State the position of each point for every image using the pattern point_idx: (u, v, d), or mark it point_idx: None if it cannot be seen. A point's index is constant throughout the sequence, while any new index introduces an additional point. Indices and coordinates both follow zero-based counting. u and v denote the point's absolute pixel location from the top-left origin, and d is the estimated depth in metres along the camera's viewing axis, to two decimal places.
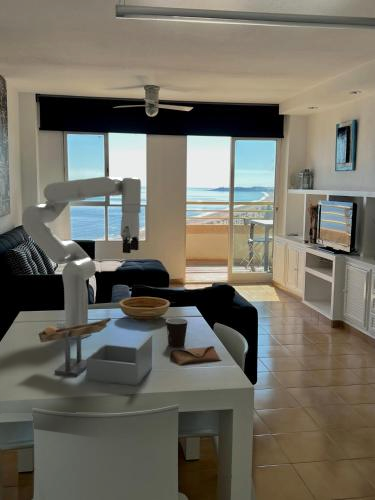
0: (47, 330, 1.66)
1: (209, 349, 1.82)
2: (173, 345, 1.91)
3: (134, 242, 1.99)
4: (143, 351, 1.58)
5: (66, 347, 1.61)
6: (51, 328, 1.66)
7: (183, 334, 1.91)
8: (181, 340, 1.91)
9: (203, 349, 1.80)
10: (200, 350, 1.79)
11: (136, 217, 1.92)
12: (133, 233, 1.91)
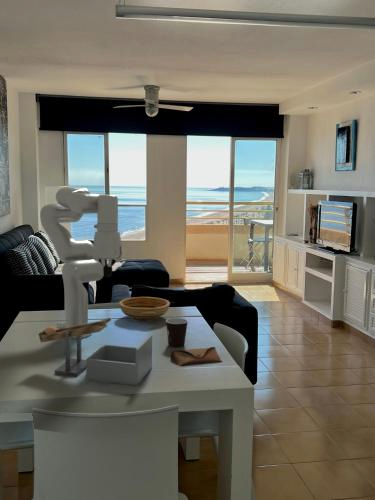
0: (47, 330, 1.66)
1: (210, 350, 1.81)
2: (173, 345, 1.91)
3: None
4: (143, 351, 1.58)
5: (66, 347, 1.61)
6: (51, 328, 1.66)
7: (183, 334, 1.91)
8: (181, 340, 1.91)
9: (204, 350, 1.79)
10: (200, 350, 1.78)
11: None
12: None
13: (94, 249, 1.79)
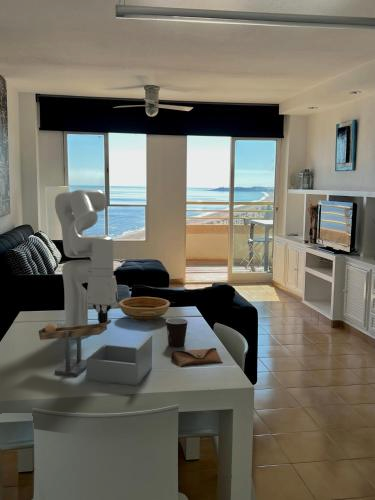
0: (47, 328, 1.65)
1: (211, 351, 1.80)
2: (173, 345, 1.91)
3: None
4: (143, 351, 1.58)
5: (66, 347, 1.61)
6: (51, 326, 1.66)
7: (183, 334, 1.91)
8: (181, 340, 1.91)
9: (204, 351, 1.78)
10: (201, 351, 1.78)
11: None
12: None
13: (88, 295, 1.69)
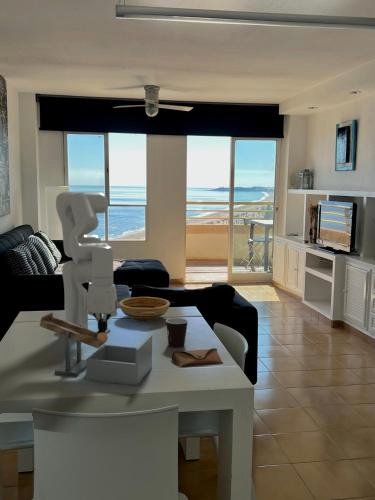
0: (98, 339, 1.62)
1: (211, 351, 1.79)
2: (173, 345, 1.91)
3: None
4: (143, 351, 1.58)
5: (66, 347, 1.61)
6: None
7: (183, 334, 1.91)
8: (181, 340, 1.91)
9: (205, 351, 1.78)
10: (201, 352, 1.77)
11: None
12: None
13: (88, 303, 1.70)
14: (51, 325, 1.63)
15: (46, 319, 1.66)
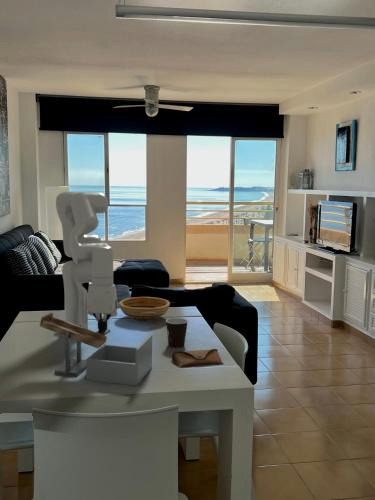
0: None
1: (212, 352, 1.79)
2: (173, 345, 1.91)
3: None
4: (143, 351, 1.58)
5: (66, 347, 1.61)
6: None
7: (183, 334, 1.91)
8: (181, 340, 1.91)
9: (205, 351, 1.77)
10: (202, 352, 1.77)
11: None
12: None
13: (88, 303, 1.70)
14: (51, 325, 1.63)
15: (46, 319, 1.66)
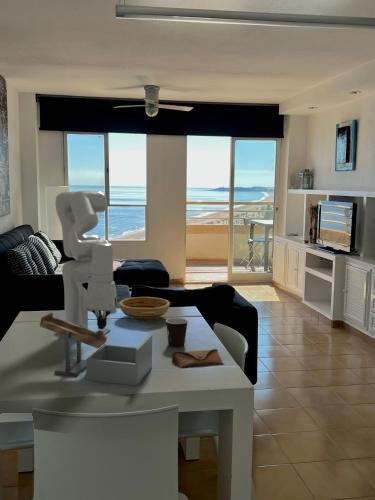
0: None
1: (212, 352, 1.78)
2: (173, 345, 1.91)
3: None
4: (143, 351, 1.58)
5: (66, 347, 1.61)
6: None
7: (183, 334, 1.91)
8: (181, 340, 1.91)
9: (205, 352, 1.77)
10: (202, 353, 1.76)
11: None
12: None
13: (87, 300, 1.70)
14: (51, 325, 1.63)
15: (46, 319, 1.66)
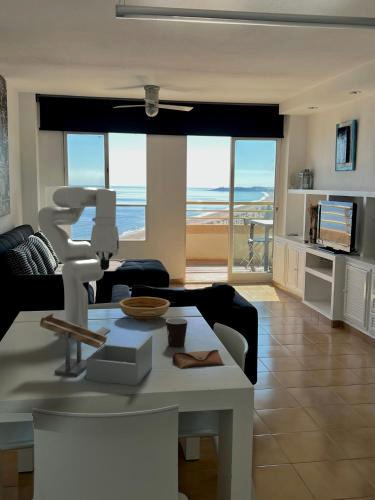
0: None
1: (212, 353, 1.78)
2: (173, 345, 1.91)
3: None
4: (143, 351, 1.58)
5: (66, 347, 1.61)
6: None
7: (183, 334, 1.91)
8: (181, 340, 1.91)
9: (206, 353, 1.76)
10: (202, 353, 1.76)
11: None
12: None
13: (92, 242, 1.82)
14: (51, 325, 1.63)
15: (46, 319, 1.66)
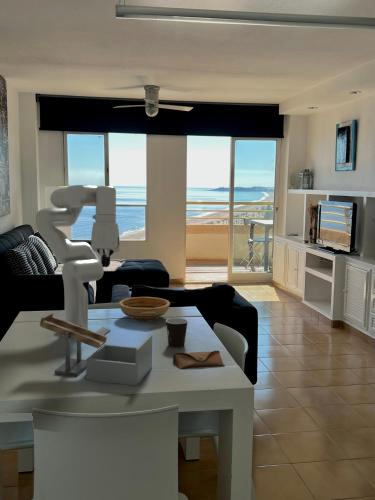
0: None
1: (213, 354, 1.77)
2: (173, 345, 1.91)
3: None
4: (143, 351, 1.58)
5: (66, 347, 1.61)
6: None
7: (183, 334, 1.91)
8: (181, 340, 1.91)
9: (207, 353, 1.75)
10: (203, 354, 1.75)
11: None
12: None
13: (92, 239, 1.83)
14: (51, 325, 1.63)
15: (46, 319, 1.66)
